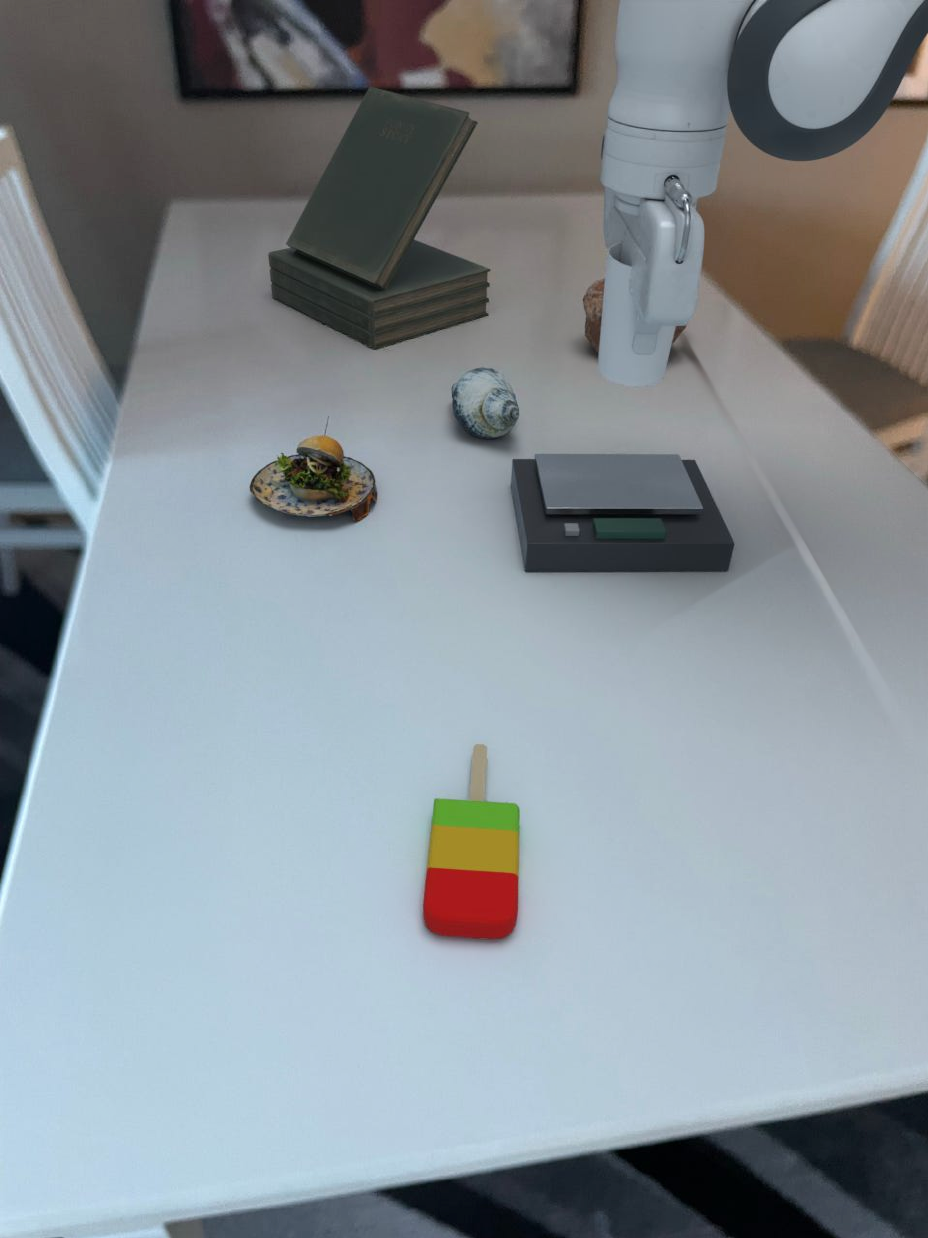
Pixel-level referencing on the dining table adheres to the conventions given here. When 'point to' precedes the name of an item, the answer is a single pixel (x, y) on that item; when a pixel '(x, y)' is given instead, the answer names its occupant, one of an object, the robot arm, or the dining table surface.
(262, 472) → the burger
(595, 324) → the decorative rock
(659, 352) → the white hollow cylinder
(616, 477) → the scale pan
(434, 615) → the dining table surface
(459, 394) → the seashell
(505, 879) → the popsicle
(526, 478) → the scale
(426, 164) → the stack of books
